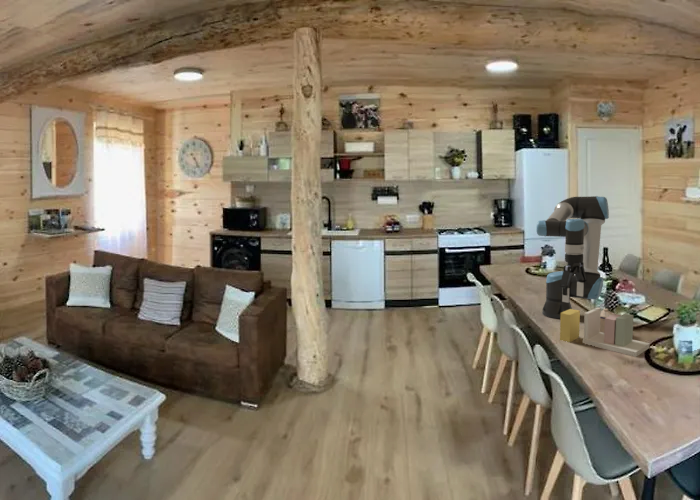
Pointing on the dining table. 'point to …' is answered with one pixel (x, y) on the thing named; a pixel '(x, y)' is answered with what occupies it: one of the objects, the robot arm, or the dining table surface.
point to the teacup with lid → (603, 315)
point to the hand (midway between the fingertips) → (572, 299)
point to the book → (569, 325)
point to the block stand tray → (612, 333)
